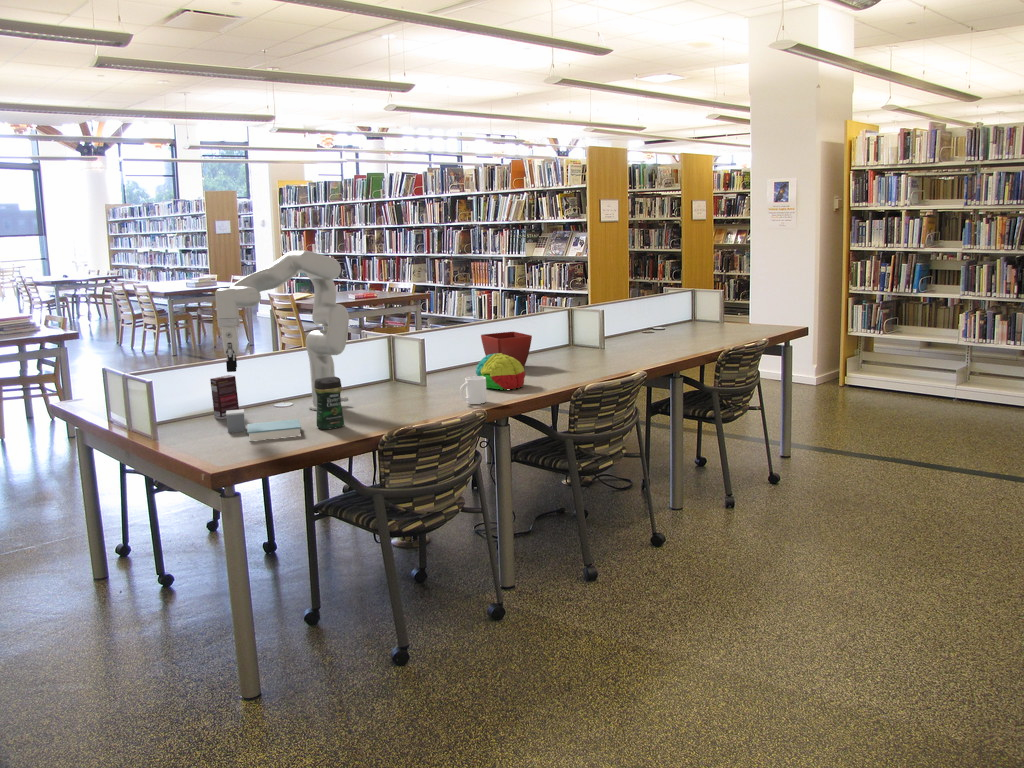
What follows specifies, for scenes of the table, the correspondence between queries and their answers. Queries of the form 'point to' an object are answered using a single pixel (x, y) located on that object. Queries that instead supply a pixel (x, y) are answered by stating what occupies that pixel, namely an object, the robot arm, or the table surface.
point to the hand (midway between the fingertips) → (232, 369)
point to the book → (273, 429)
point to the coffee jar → (329, 402)
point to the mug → (474, 390)
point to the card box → (235, 420)
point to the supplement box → (224, 395)
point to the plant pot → (508, 345)
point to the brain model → (501, 371)
